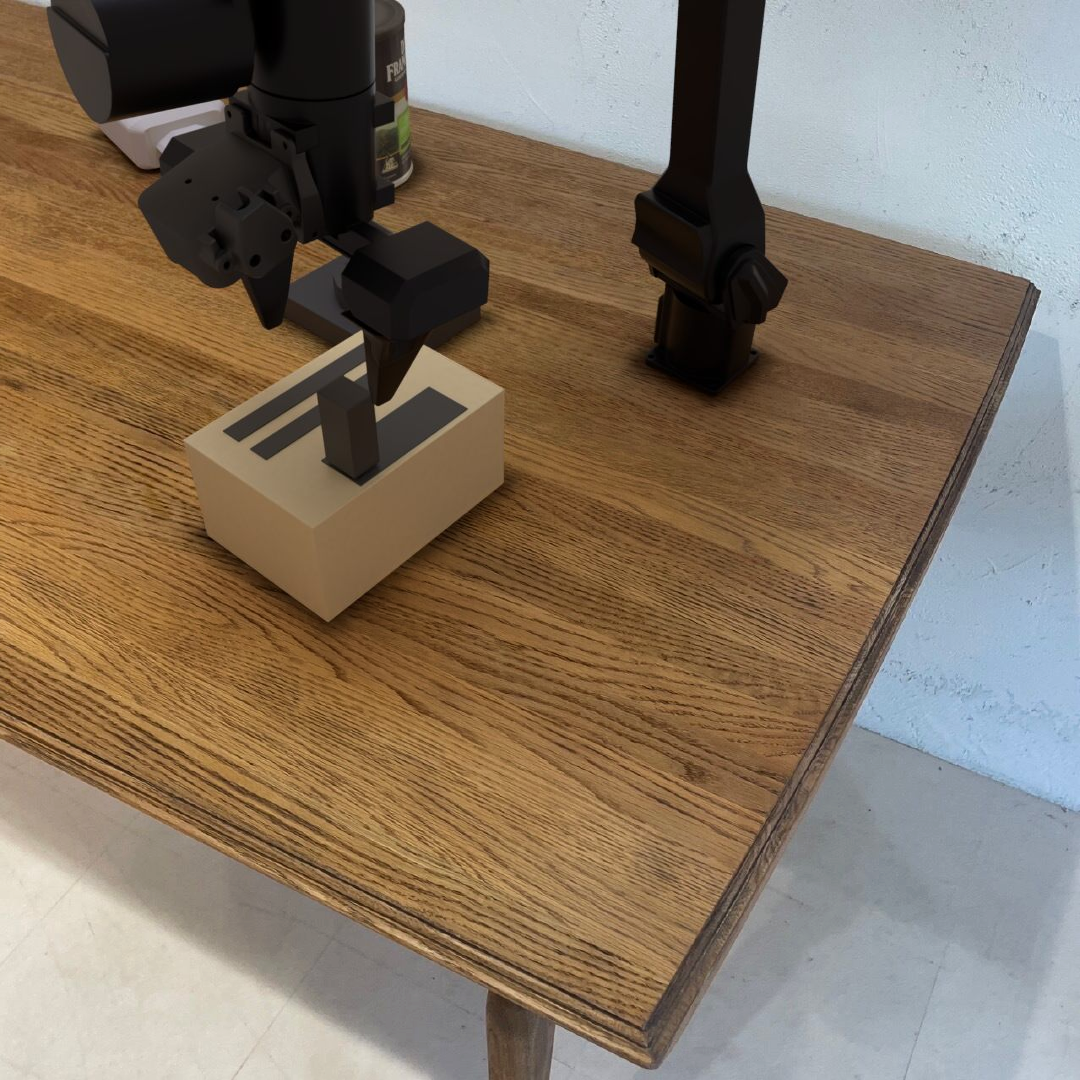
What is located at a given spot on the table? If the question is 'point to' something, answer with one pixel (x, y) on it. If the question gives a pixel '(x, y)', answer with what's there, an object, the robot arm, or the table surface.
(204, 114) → the charger
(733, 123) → the robot arm
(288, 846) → the table surface
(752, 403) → the table surface
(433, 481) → the toaster
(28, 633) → the table surface
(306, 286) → the control block
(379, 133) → the coffee can
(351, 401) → the slider
